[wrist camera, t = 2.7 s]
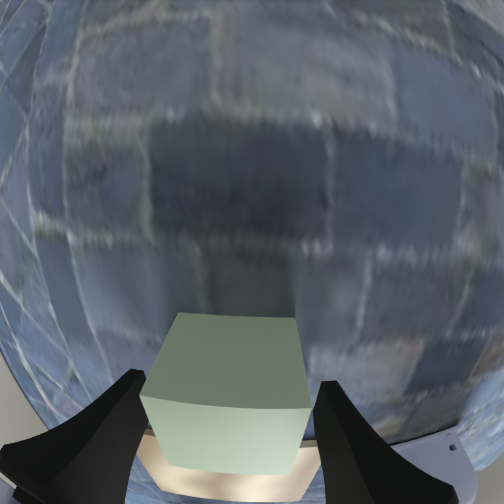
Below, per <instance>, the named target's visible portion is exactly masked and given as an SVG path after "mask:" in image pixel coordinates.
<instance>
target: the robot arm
mask: <svg viewBox="0 0 504 504" xmlns="http://www.w3.org/2000/svg"><path fill="white" fill-rule="evenodd" d="M145 381H146V377H145V374H144V371H142V370H136V369H130V370H129V371H127V372H126V373H125V374H124V375H123V376H122V377H121V378H120V379H119V380H117V381H116V382H115V383H114V384H113V385H112V386H111V387H110V388H109V389H108V390H106V391H105V392H104V393H103V394H102V395H101V396H100V397H98V398H97V399H96V400H95V401H94V402H92V403H91V404H90V405H89V406H87V407H86V408H85V409H83V410H82V411H81V412H79V413H78V414H77V415H75V416H74V417H72V418H71V419H69V420H67V421H66V422H64V423H62V424H61V425H59V426H57V427H55V428H53V429H51V430H49V431H47V432H45V433H42V434H40V435H37V436H35V437H32V438H29V439H26V440H23V441H19V442H15V443H10V444H5V445H3V447H2V448H1V450H0V472H1V473H2V474H3V475H5V476H6V477H7V478H8V479H9V480H10V481H12V482H13V483H14V484H15V485H17V487H16V489H14V488H13V487H11V486H10V485H9V484H7V483H6V482H5V481H4V480H2V479H1V478H0V504H124V503H125V496H126V490H127V485H128V480H129V476H130V471H131V467H132V464H133V461H134V458H135V455H136V453H137V450H138V447H139V445H140V442H141V440H142V437H143V435H144V432H145V429H146V427H147V424H148V422H149V419H148V417H147V414H146V412H145V409H144V407H143V404H142V401H141V399H140V396H139V394H140V392H141V390H142V388H143V386H144V383H145ZM313 418H314V430H315V436H316V441H317V446H318V451H319V456H320V460H321V465H322V470H323V475H324V482H325V495H326V504H472V502H473V501H474V499H475V497H476V495H477V490H478V480H477V476H476V473H475V471H474V469H473V466H472V464H471V462H470V460H469V458H468V456H467V454H466V452H465V449H464V447H463V445H462V443H461V441H460V439H459V438H458V436H457V434H456V433H457V432H458V431H459V430H460V426H459V425H457V426H454V427H451V428H449V429H446V430H443V431H440V432H438V433H435V434H432V435H428V436H425V437H422V438H419V439H415V440H412V441H408V442H405V443H401V444H397V445H393V446H389V445H388V444H387V443H386V442H385V441H384V440H383V439H382V438H381V437H380V436H379V435H378V434H377V433H376V432H375V431H374V429H373V428H372V427H371V426H370V425H369V424H368V423H367V421H366V420H365V419H364V418H363V416H362V415H361V414H360V413H359V411H358V410H357V409H356V408H355V406H354V405H353V403H352V402H351V401H350V399H349V398H348V396H347V395H346V394H345V392H344V391H343V389H342V388H341V386H340V385H339V383H338V382H337V381H321V385H320V389H319V392H318V396H317V400H316V403H315V406H314V410H313Z"/></svg>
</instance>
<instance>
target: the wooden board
mask: <svg viewBox="0 0 504 504" xmlns="http://www.w3.org/2000/svg"><path fill="white" fill-rule="evenodd" d="M136 454H137V456H138V457H139V459H140V461H141V462H142V464H143V465H144V467H145V468H146V470H147V471H148V473H149V474H150V475H151V477H152V478H153V480H154V481H155V482H156V484H157V485H158V487H159V488H160V489H161V490H162V491H166V492H171V493H176V494H182V495H187V496H194V497H201V498H208V499H217V500H228V501H244V502H287V501H300V499H301V498H302V496H303V494H304V493H305V491H306V489H307V488H308V486H309V484H310V482H311V481H312V479H313V477H314V475H315V474H316V472H317V470H318V468H319V466H320V464H321V460H320V456H319V451H318V446H317V441H316V440H307V441H301V444H300V447H299V450H298V453H297V456H296V459H295V462H294V464H293V467H292V470H291V473H290V474H287V475H249V474H231V473H219V472H209V471H201V470H194V469H187V468H181V467H176V466H170V465H169V463H168V461H167V459H166V457H165V455H164V453H163V451H162V449H161V447H160V445H159V442H158V440H157V438H156V436H155V433H154V431H153V429H149V428H146V429H145V432H144V435H143V437H142V440H141V442H140V445H139V447H138V450H137V453H136Z"/></svg>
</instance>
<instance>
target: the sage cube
mask: <svg viewBox="0 0 504 504" xmlns="http://www.w3.org/2000/svg"><path fill="white" fill-rule="evenodd" d="M139 396H140V399H141V401H142V404H143V407H144V409H145V412H146V414H147V417H148V419H149V422H150V424H151V426H152V429H153V431H154V433H155V436H156V438H157V440H158V442H159V445H160V447H161V449H162V451H163V453H164V455H165V457H166V459H167V461H168V463H169V465H170V466H176V467H181V468H187V469H194V470H201V471H209V472H219V473H231V474H249V475H287V474H290V473H291V470H292V467H293V464H294V462H295V459H296V456H297V453H298V450H299V447H300V444H301V441H302V438H303V435H304V432H305V429H306V425H307V422H308V419H309V416H310V412H311V409H312V407H311V401H310V395H309V389H308V384H307V378H306V372H305V367H304V361H303V356H302V350H301V345H300V340H299V335H298V329H297V324H296V319H295V318H279V317H247V316H226V315H209V314H194V313H182V312H178V314H177V316H176V318H175V320H174V322H173V324H172V326H171V328H170V330H169V332H168V334H167V336H166V338H165V341H164V343H163V345H162V347H161V349H160V351H159V353H158V355H157V357H156V360H155V362H154V364H153V366H152V368H151V370H150V372H149V375H148V377H147V379H146V381H145V383H144V386H143V388H142V390H141V392H140V394H139Z"/></svg>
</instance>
